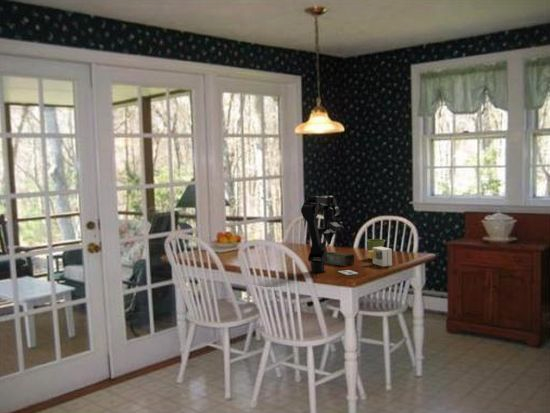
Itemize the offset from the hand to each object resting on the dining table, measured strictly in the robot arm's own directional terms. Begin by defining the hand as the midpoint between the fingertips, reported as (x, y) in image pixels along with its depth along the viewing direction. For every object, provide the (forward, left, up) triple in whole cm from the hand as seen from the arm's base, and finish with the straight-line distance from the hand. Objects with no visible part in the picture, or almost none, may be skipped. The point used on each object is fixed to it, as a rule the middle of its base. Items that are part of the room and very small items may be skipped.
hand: (329, 244), depth 328 cm
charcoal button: (+23, -18, -9) cm, 31 cm away
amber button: (+22, -12, -9) cm, 27 cm away
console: (+26, -16, -13) cm, 33 cm away
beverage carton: (+10, +4, -14) cm, 17 cm away
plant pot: (+37, +1, -13) cm, 39 cm away
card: (-4, -21, -13) cm, 25 cm away
